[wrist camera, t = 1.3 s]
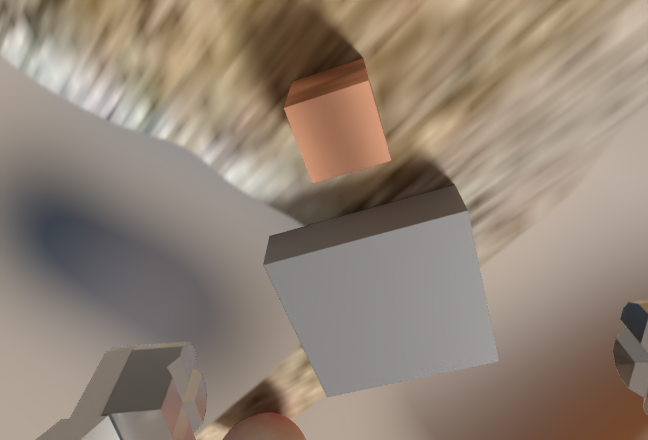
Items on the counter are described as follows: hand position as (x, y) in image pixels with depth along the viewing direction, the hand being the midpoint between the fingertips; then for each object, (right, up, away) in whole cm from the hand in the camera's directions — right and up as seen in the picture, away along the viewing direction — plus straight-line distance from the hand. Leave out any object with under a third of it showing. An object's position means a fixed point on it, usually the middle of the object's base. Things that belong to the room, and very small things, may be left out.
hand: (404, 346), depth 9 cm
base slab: (+4, -3, +32) cm, 32 cm away
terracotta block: (-1, +10, +24) cm, 26 cm away
